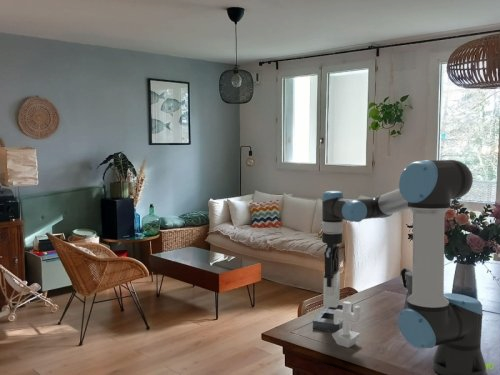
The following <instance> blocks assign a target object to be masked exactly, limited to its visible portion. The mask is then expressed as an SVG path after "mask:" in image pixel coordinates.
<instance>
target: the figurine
mask: <svg viewBox="0 0 500 375" xmlns="http://www.w3.org/2000/svg"><path fill="white" fill-rule="evenodd" d="M342 303H343V309H342V310H339V309H336V310H335V311H334V324H335V325H337V324H339V318H342V319H343V325H342V329H340V330H338V331H337V332H333V333H332V334H331V336H332V338H333V339H334V341H335V343H336V345H337V346H341V347H345V348H348V349H349V348H351V347H352V346H353V345H355V344H356V342H357V340H358V338H359V337H360V335H361V333H360V332H357V331H353V330H351V322H355V323H359V321H360V317H361V307H360V306H359V305H356V306H354V308H353V312H351V304H352V302H351V301H342Z"/></svg>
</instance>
